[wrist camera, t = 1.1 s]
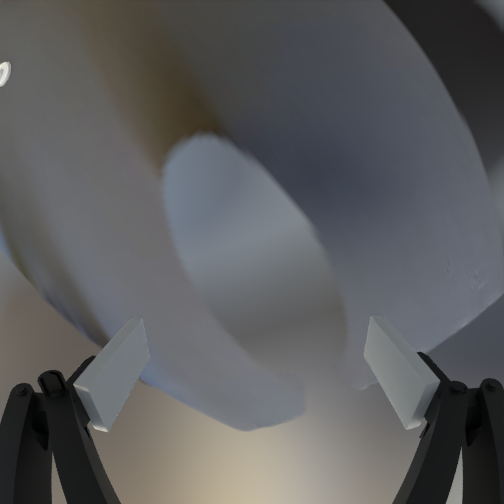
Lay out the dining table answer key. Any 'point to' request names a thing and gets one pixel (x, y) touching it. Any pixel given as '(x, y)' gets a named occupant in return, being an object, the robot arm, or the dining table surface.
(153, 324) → the dining table surface
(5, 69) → the chess piece
